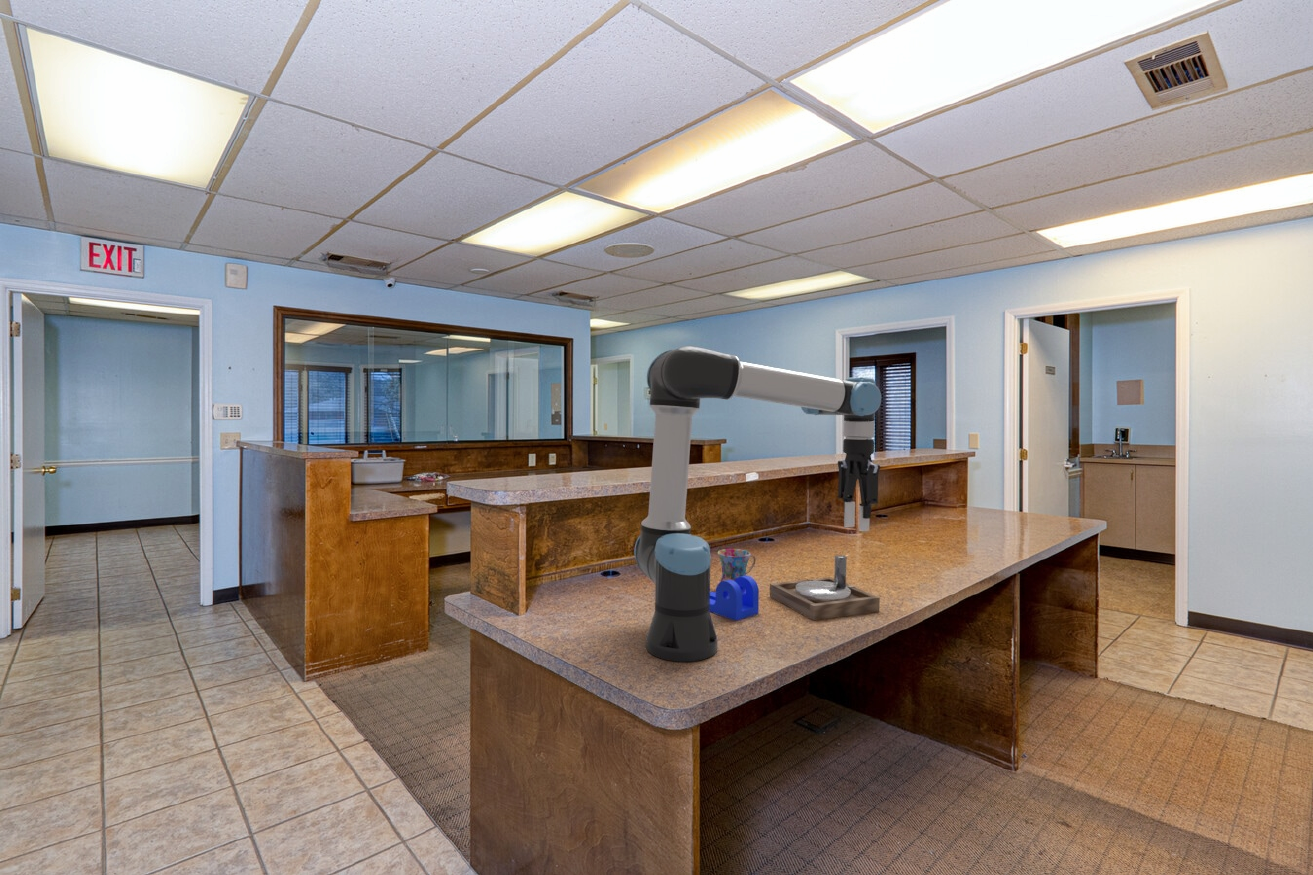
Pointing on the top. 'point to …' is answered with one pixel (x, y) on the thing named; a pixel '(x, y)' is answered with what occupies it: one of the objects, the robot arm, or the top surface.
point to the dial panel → (816, 611)
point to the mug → (734, 563)
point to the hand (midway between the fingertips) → (856, 528)
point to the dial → (827, 586)
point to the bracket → (735, 598)
